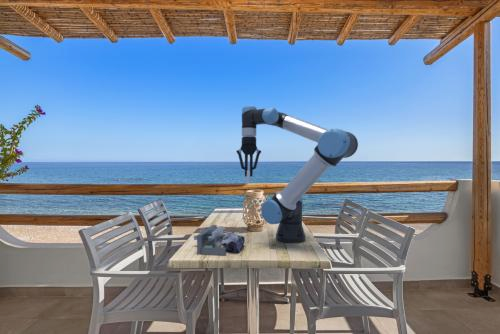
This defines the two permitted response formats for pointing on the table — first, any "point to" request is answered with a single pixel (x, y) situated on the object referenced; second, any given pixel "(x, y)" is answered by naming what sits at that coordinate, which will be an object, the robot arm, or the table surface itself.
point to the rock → (233, 242)
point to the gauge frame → (208, 243)
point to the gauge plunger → (215, 237)
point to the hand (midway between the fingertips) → (248, 182)
